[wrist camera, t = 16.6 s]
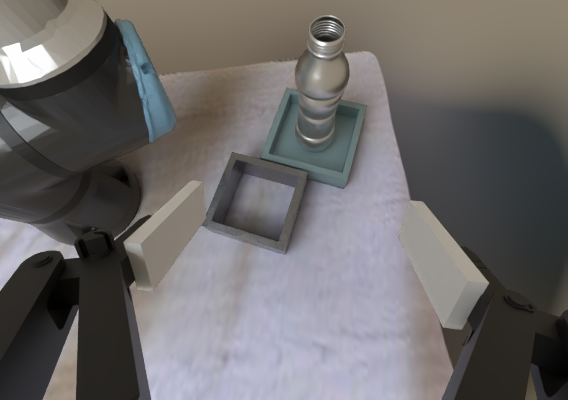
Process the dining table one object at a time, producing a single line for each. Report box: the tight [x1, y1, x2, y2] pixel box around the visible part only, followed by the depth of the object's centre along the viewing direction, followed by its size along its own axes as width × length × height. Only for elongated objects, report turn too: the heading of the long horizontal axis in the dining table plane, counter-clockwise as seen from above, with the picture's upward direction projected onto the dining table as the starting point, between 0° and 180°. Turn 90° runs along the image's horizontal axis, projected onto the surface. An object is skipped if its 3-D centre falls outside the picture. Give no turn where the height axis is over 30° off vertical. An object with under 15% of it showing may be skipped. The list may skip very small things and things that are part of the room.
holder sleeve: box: [202, 152, 308, 255], centre depth 39 cm, size 12×12×5 cm
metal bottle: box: [295, 15, 350, 152], centre depth 34 cm, size 6×7×20 cm
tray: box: [260, 88, 367, 189], centre depth 43 cm, size 14×14×4 cm
